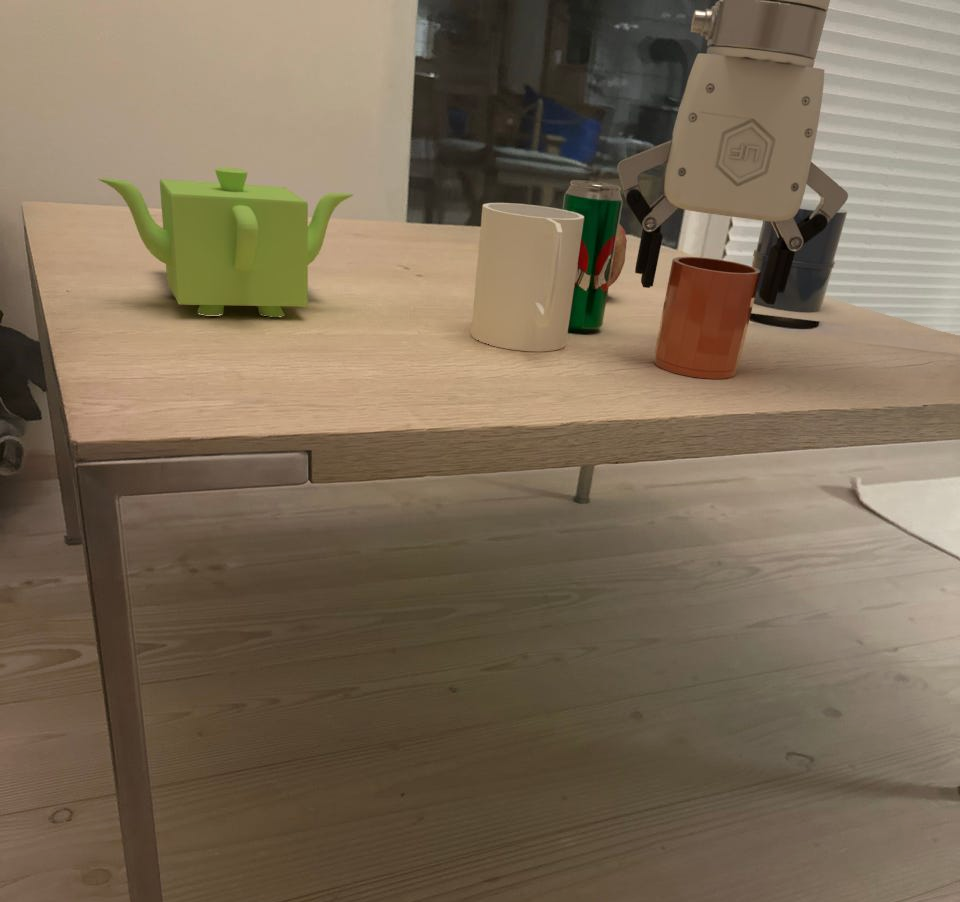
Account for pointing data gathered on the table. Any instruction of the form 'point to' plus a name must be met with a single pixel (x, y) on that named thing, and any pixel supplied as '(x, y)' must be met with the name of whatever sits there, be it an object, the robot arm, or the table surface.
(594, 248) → the soda can
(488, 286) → the cup
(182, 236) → the teapot
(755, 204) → the robot arm
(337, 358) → the table surface
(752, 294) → the terracotta cup
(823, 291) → the cup stack
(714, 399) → the table surface
